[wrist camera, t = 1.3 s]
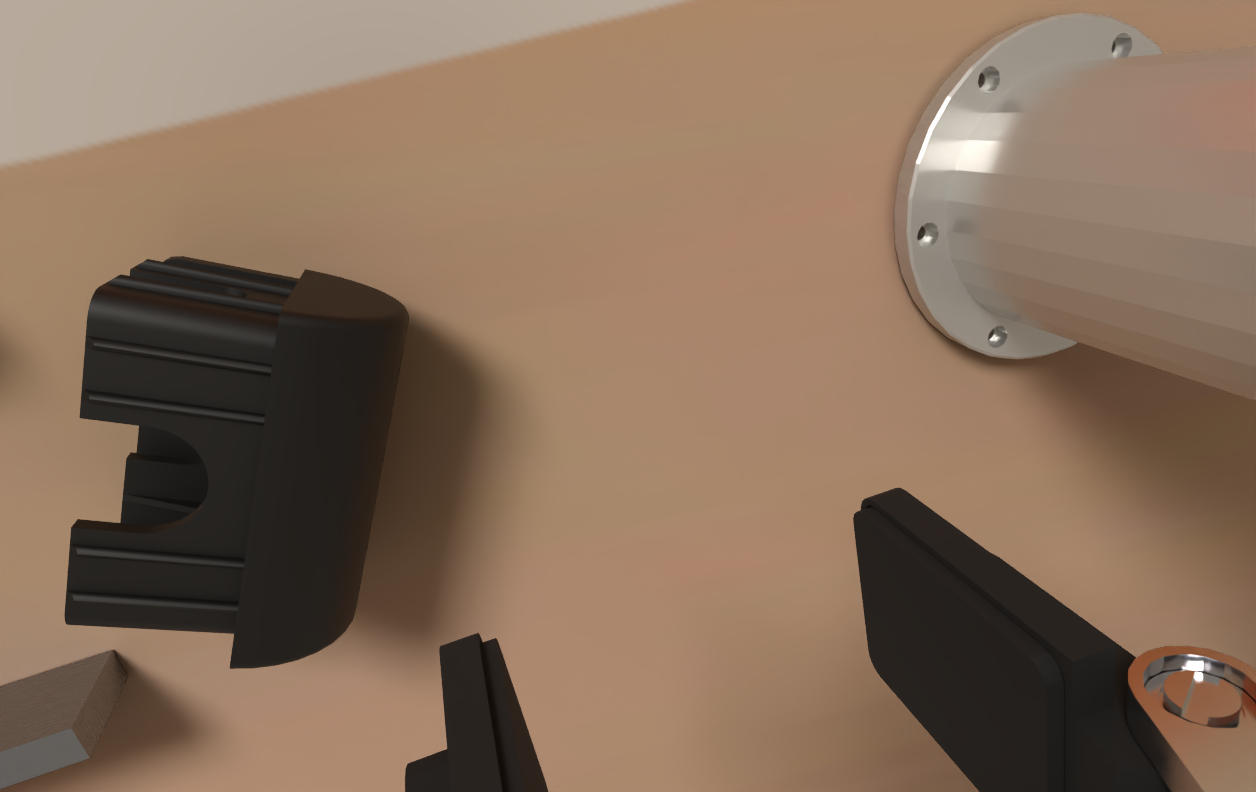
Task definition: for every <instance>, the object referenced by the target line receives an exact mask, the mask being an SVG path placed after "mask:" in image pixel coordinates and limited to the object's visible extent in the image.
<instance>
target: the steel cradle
mask: <svg viewBox="0 0 1256 792" xmlns="http://www.w3.org/2000/svg"><path fill="white" fill-rule="evenodd" d="M127 679H128V676H127V674H126V672H125V670H124V669H123V667H122V665H121V663H120V662H119V660H118V658H117V656H116V655H115V653H114V651H113V650H111V651H108V652H105V653H102V654H98V655H95V656H92V657H89V658H86V659H83V660H80V661H77V662H74V663H71V664H68V665H65V666H61V667H58V668H55V669H52V670H49V671H46V672H43V673H40V674H37V675H34V676H31V677H28V678H24V679H21V680H18V681H15V682H12V683H9V684H6V685H3V686H0V789H2V788H5V787H8V786H10V785H13V784H16V783H19V782H22V781H25V780H28V779H31V778H34V777H37V776H39V775H42V774H45V773H48V772H51V771H54V770H57V769H60V768H63V767H66V766H68V765H71V764H74V763H77V762H80V761H83V760H86V759H89V758H90V757H91V755H92V752H93V750H94V748H95V746H96V744H97V742H98V740H99V738H100V736H101V734H102V732H103V729H104V727H105V725H106V723H107V721H108V719H109V717H110V715H111V713H112V711H113V708H114V706H115V704H116V702H117V700H118V698H119V696H120V694H121V692H122V690H123V688H124V685H125V683H126V681H127Z"/></svg>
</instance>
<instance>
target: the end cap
mask: <svg viewBox="0 0 1256 792" xmlns="http://www.w3.org/2000/svg"><path fill="white" fill-rule="evenodd" d="M408 322H409V315H408V312H407V310H406V308H405V307H404V305H402V304H401V303H400V302H399V301H398V300H396V299H395V298H393V297H391V296H390V295H388V294H386V293H384V292H382V291H379V290H377V289H375V288H372V287H369V286H366V285H364V284H361V283H358V282H354V281H351V280H348V279H344V278H341V277H337V276H333V275H329V274H325V273H320V272H315V271H311V270H306V269H305V271H304V272H303V274H302V276H301V277H300V279H298V278H292V277H287V276H282V275H277V274H272V273H266V272H261V271H256V270H251V269H245V268H240V267H235V266H230V265H225V264H219V263H214V262H209V261H204V260H199V259H193V258H188V257H183V256H181V257H170V258H169V259H167V260H165V261H164V262H160V261H154V260H149V259H147V260H146V261H144V262H142V263H141V264H139V265H137V266H135V267H134V268H132V269H130V276H126V275H119V276H117V277H116V278H114V279H112V280H111V281H109V282H107V283H105V284H103V285H102V286H100V287H98V288H97V289H96V291H95V293H94V294H93V297H92V299H91V302H90V306H89V310H88V317H87V329H86V342H85V355H84V368H83V381H82V394H81V407H80V418H84V419H92V420H99V421H107V422H115V423H123V424H131V425H139V434H138V444H137V453H130V455H129V456H128V457H127V459H126V469H125V480H124V491H123V501H122V512H121V523H112V522H101V521H90V520H79V519H78V520H77V521H76V522H75V524H74V525H73V526H72V527H71V539H70V552H69V565H68V578H67V591H66V604H65V622H66V624H67V625H85V626H103V627H121V628H140V629H158V630H176V631H195V632H213V633H231V634H234V641H233V648H232V655H231V662H230V669H234V668H259V667H267V666H275V665H280V664H284V663H288V662H292V661H296V660H299V659H301V658H304V657H306V656H309V655H311V654H314V653H316V652H318V651H320V650H322V649H323V648H325V647H327V646H328V645H330V644H332V643H333V642H334V641H335V640H336V639H338V638H339V637H340V636H341V635H342V634H343V633H344V632H345V631H346V629H347V628H348V626H349V625H350V623H351V622H352V620H353V617H354V614H355V610H356V606H357V600H358V595H359V589H360V584H361V578H362V573H363V567H364V562H365V556H366V551H367V546H368V540H369V535H370V529H371V524H372V518H373V513H374V507H375V502H376V496H377V491H378V485H379V480H380V475H381V469H382V464H383V458H384V453H385V447H386V442H387V436H388V431H389V425H390V420H391V415H392V409H393V404H394V398H395V393H396V387H397V382H398V376H399V371H400V365H401V360H402V354H403V349H404V344H405V338H406V333H407V327H408Z"/></svg>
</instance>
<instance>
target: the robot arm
mask: <svg viewBox="0 0 1256 792" xmlns="http://www.w3.org/2000/svg"><path fill="white" fill-rule="evenodd" d="M894 226H895V246H896V251H897V256H898V260H899V265H900V269H901V274H902V276H903V279H904V281H905V283H906V286H907V288H908V290H909V292H910V295H911V297H912V299H913V301H914V302H915V304H916V305H917V306H918V308H919V309H920V311H921V312H922V313H923V315H924V316H925V317H926V319H927V320H928V322H930V323H931V324H932V325H933V326H934V327H935V328H937V329H938V330H939V331H940V332H941V333H942V334H944V335H945V336H946V337H947V338H949V339H951V340H953V341H955V342H957V343H959V344H961V345H963V346H965V347H967V348H969V349H972V350H975V351H977V352H980V353H983V354H985V355H988V356H992V357H999V358H1008V359H1027V358H1035V357H1043V356H1046V355H1049V354H1052V353H1056V352H1059V351H1062V350H1065V349H1068V348H1070V347H1072V346H1074V345H1075V344H1077V343H1082V344H1085V345H1088V346H1091V347H1094V348H1097V349H1100V350H1103V351H1106V352H1109V353H1112V354H1115V355H1118V356H1121V357H1124V358H1127V359H1130V360H1133V361H1136V362H1139V363H1142V364H1145V365H1148V366H1151V367H1154V368H1157V369H1160V370H1163V371H1166V372H1169V373H1172V374H1175V375H1178V376H1181V377H1184V378H1187V379H1190V380H1193V381H1196V382H1199V383H1202V384H1205V385H1208V386H1211V387H1214V388H1217V389H1220V390H1223V391H1226V392H1229V393H1232V394H1235V395H1238V396H1241V397H1244V398H1247V399H1250V400H1253V401H1256V46H1252V47H1240V48H1228V49H1215V50H1203V51H1191V52H1179V53H1167V54H1164V53H1163V52H1162V50H1161V49H1160V48H1159V46H1158V45H1157V44H1156V43H1155V42H1154V41H1153V40H1151V39H1150V38H1149V37H1148V36H1146V35H1145V34H1144V33H1143V32H1141V31H1140V30H1139V29H1138V28H1136V27H1135V26H1133V25H1130V24H1128V23H1126V22H1123V21H1121V20H1119V19H1116V18H1114V17H1112V16H1106V15H1099V14H1091V13H1084V12H1083V13H1074V14H1065V15H1055V16H1049V17H1045V18H1041V19H1037V20H1033V21H1028V22H1024V23H1022V24H1019V25H1017V26H1015V27H1013V28H1011V29H1009V30H1007V31H1005V32H1003V33H1001V34H999V35H997V36H995V37H993V38H992V39H991V40H989V41H988V42H987V43H985V44H984V45H983V46H981V47H980V48H979V49H977V50H976V51H975V52H973V53H972V54H971V55H969V56H968V57H967V58H966V59H965V60H964V61H963V62H962V63H961V64H960V65H959V67H958V68H957V69H956V70H955V71H954V72H953V73H952V74H951V75H950V76H949V77H948V78H947V79H946V80H945V81H944V83H943V84H942V86H941V87H940V89H939V90H938V92H937V93H936V95H935V96H934V97H933V99H932V100H931V102H930V103H929V105H928V106H927V108H926V109H925V111H924V112H923V115H922V117H921V119H920V121H919V123H918V125H917V127H916V130H915V132H914V134H913V136H912V138H911V140H910V142H909V145H908V148H907V151H906V155H905V158H904V161H903V165H902V168H901V172H900V175H899V178H898V186H897V193H896V201H895V209H894ZM853 520H854V531H855V539H856V548H857V556H858V565H859V573H860V582H861V590H862V599H863V607H864V616H865V624H866V633H867V641H868V650H869V655H870V658H871V661H872V663H873V666H874V668H875V669H876V671H877V673H878V674H879V675H880V677H881V678H882V679H883V680H884V682H885V683H886V684H887V685H888V686H889V687H890V688H891V690H892V691H893V692H894V693H895V694H896V695H897V697H898V698H899V699H900V700H901V701H902V702H903V704H904V705H905V706H906V707H907V708H908V709H909V710H910V712H911V713H912V714H913V715H914V716H915V717H916V719H917V720H918V721H919V722H920V723H921V724H922V725H923V727H924V728H925V729H926V730H927V731H928V732H929V734H930V735H931V736H932V737H933V738H934V739H935V741H936V742H937V743H938V744H939V745H940V746H941V747H942V749H943V750H944V751H945V752H946V753H947V754H948V756H949V757H950V758H951V759H952V760H953V761H954V762H955V764H956V765H957V766H958V767H959V768H960V769H961V771H962V772H963V773H964V774H965V775H966V776H967V778H968V779H969V780H970V781H971V782H972V783H973V784H974V786H975V787H976V788H977V789H978V790H979V791H980V792H1256V669H1255V668H1253V667H1251V666H1250V665H1248V664H1246V663H1244V662H1242V661H1240V660H1238V659H1236V658H1234V657H1232V656H1229V655H1226V654H1223V653H1220V652H1217V651H1214V650H1211V649H1205V648H1199V647H1193V646H1164V647H1160V648H1156V649H1152V650H1148V651H1146V652H1145V653H1143V654H1141V655H1140V656H1138V657H1137V658H1136V657H1135V656H1133V655H1132V654H1130V653H1129V652H1128V651H1126V650H1125V649H1124V648H1122V647H1121V646H1119V645H1118V644H1117V643H1115V642H1114V641H1113V640H1111V639H1110V638H1109V637H1107V636H1106V635H1104V634H1103V633H1102V632H1100V631H1099V630H1098V629H1096V628H1095V627H1093V626H1092V625H1091V624H1089V623H1088V622H1087V621H1085V620H1084V619H1083V618H1081V617H1080V616H1078V615H1077V614H1076V613H1074V612H1073V611H1072V610H1070V609H1069V608H1067V607H1066V606H1065V605H1063V604H1062V603H1061V602H1059V601H1058V600H1057V599H1055V598H1054V597H1052V596H1051V595H1050V594H1048V593H1047V592H1046V591H1044V590H1043V589H1041V588H1040V587H1039V586H1037V585H1036V584H1035V583H1033V582H1032V581H1031V580H1029V579H1028V578H1026V577H1025V576H1024V575H1022V574H1021V573H1020V572H1018V571H1017V570H1015V569H1014V568H1013V567H1011V566H1010V565H1009V564H1007V563H1006V562H1005V561H1003V560H1002V559H1000V558H999V557H997V556H996V555H994V554H992V553H990V552H988V551H987V550H986V549H984V548H983V547H982V546H980V545H979V544H977V543H976V542H975V541H973V540H972V539H971V538H969V537H968V536H967V535H965V534H964V533H963V532H961V531H960V530H958V529H957V528H956V527H954V526H953V525H952V524H950V523H949V522H948V521H946V520H945V519H943V518H942V517H941V516H939V515H938V514H937V513H935V512H934V511H933V510H931V509H930V508H928V507H927V506H926V505H924V504H923V503H922V502H920V501H919V500H918V499H916V498H915V497H913V496H912V495H911V494H909V493H908V492H907V491H905V490H903V489H901V488H895V489H892V490H889V491H886V492H883V493H880V494H877V495H875V496H872V497H869V498H866V499H864V500H863V501H862V505H861V511H858V512H856V513H855V514H854V517H853ZM440 664H441V676H442V688H443V701H444V713H445V725H446V738H447V749H446V750H443V751H441V752H438V753H435V754H433V755H430V756H427V757H425V758H422V759H419V760H416V761H414V762H411V763H408V764H407V767H406V773H405V792H548V789H547V786H546V782H545V779H544V776H543V773H542V770H541V767H540V764H539V761H538V758H537V755H536V752H535V749H534V746H533V743H532V740H531V738H530V735H529V732H528V729H527V726H526V723H525V720H524V717H523V714H522V711H521V708H520V705H519V702H518V699H517V696H516V693H515V690H514V687H513V684H512V681H511V678H510V676H509V673H508V670H507V667H506V664H505V661H504V658H503V655H502V652H501V649H500V646H499V643H498V641H497V639H496V638H495V639H492V640H489V641H486V642H482V639H481V637H480V635H479V633H477V634H474V635H471V636H468V637H465V638H462V639H459V640H457V641H454V642H451V643H448V644H445V645H442V646H440Z"/></svg>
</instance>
